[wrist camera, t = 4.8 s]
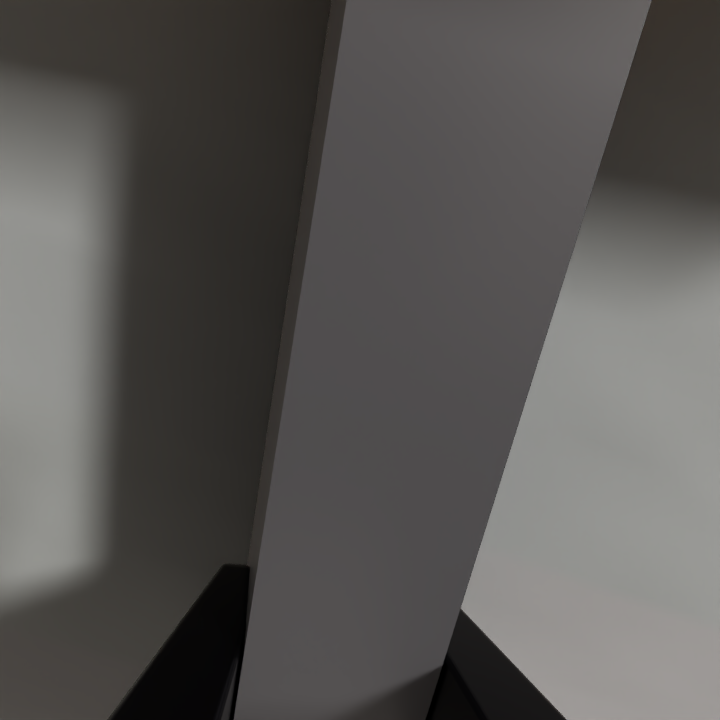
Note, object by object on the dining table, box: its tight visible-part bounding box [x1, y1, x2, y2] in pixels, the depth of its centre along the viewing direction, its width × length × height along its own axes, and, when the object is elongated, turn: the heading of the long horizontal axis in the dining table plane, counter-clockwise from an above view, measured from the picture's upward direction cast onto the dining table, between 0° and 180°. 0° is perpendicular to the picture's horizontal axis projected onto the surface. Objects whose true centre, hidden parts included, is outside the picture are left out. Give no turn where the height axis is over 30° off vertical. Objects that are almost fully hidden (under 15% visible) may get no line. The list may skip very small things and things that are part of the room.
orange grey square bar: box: [232, 0, 652, 720], centre depth 6 cm, size 15×4×4 cm, turn 169°
